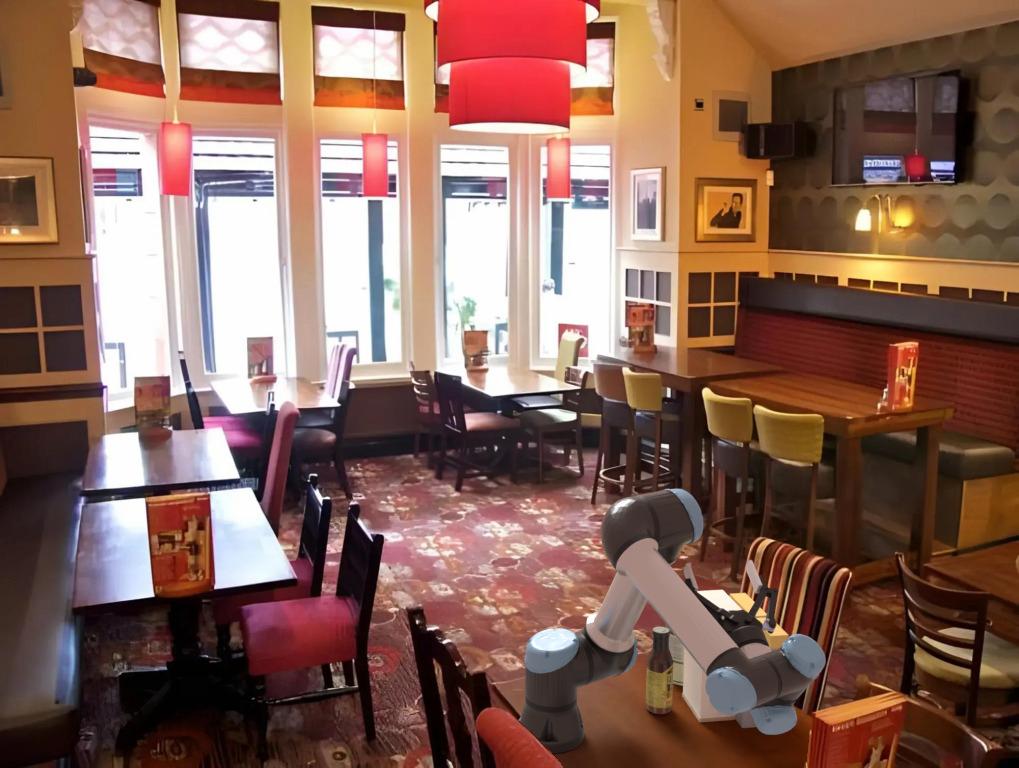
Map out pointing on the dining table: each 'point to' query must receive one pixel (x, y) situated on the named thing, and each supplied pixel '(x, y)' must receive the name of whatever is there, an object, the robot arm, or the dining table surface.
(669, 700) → the sauce bottle
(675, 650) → the coffee can
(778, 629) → the yellow long bar
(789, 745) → the dining table surface
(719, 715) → the cream pillar
